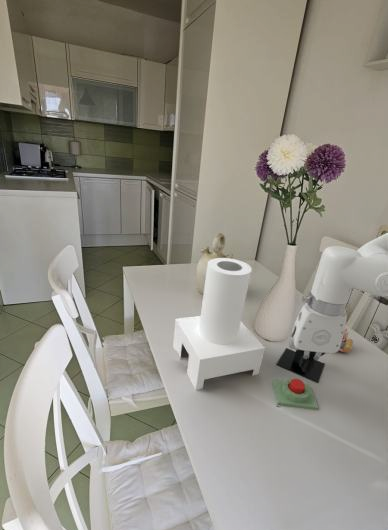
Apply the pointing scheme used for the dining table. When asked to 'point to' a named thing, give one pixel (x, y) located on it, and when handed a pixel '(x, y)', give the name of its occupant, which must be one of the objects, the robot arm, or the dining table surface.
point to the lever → (347, 345)
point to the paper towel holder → (220, 326)
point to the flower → (344, 340)
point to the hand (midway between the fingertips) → (304, 368)
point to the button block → (293, 395)
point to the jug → (208, 256)
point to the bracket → (291, 363)
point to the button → (297, 386)
